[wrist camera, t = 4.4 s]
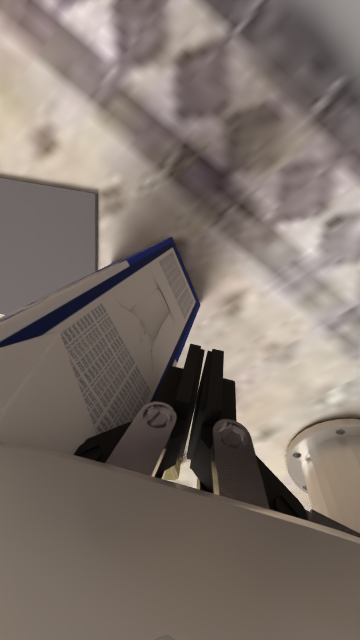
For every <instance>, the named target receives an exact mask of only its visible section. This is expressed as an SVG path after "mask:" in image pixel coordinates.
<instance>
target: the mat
mask: <svg viewBox="0 0 360 640" xmlns="http://www.w3.org/2000/svg"><path fill="white" fill-rule="evenodd" d="M96 271H97V194H95V193H89V192H83V191H77V190H71V189H65V188H59V187H53V186H47V185H41V184H35V183H29V182H24V181H18V180H12V179H6V178H0V314H4V315H7V314H10V313H12V312H14V311H16V310H18V309H20V308H22V307H24V306H26V305H28V304H30V303H32V302H34V301H36V300H38V299H40V298H42V297H45V296H47V295H49V294H51V293H53V292H55V291H57V290H59V289H61V288H63V287H65V286H67V285H69V284H71V283H73V282H75V281H78V280H80V279H82V278H84V277H86V276H88V275H90V274H92V273H94V272H96Z"/></svg>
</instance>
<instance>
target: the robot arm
mask: <svg viewBox="0 0 360 640" xmlns="http://www.w3.org/2000/svg"><path fill="white" fill-rule="evenodd" d="M204 351H205V350H203V349H201V346H198V345H194V344H190V347H189V351H188V354H187V358H186V362H185V365H184V369H182V368H178V367H174V366H169V368H168V370H167V373H166V376H165V378H164V381H163V384H162V387H161V389H160V392H159V395H158V397H157V400H156V402H150V403H148V404H146V405H144V406H143V407H142V408H141V409H140V411H139V412H138V414H137V416H136V417H135V419H134V420H133V421H130V422H128V423H125V424H123V425H120V426H118V427H115V428H113V429H110V430H108V431H105V432H103V433H100V434H98V435H95V436H93V437H90V438H88V439H86V440H85V442H84V443H83V444H81V445H80V446H79V447H78V449H77V450H76V452H75V453H74V455H71V454H67V453H63V452H60V451H56V450H51V449H46V448H41V447H37V446H30V445H21V444H0V640H360V419H336V420H330V421H325V422H322V423H319V424H316V425H314V426H311V427H309V428H307V429H305V430H304V431H303V432H301V433H300V434H298V435H297V436H296V437H295V438H294V439H293V440H292V441H291V443H290V445H289V447H288V448H287V452H286V465H287V469H288V473H289V475H290V477H291V479H292V480H293V482H294V483H295V484H296V485H297V486H298V487H299V488H300V489H301V490H303V491H304V492H306V493H308V495H309V499H310V502H311V506H312V509H311V510H310V512H309V511H307V510H305V509H304V507H303V506H302V504H301V503H300V502H299V500H298V499H297V498H296V497H295V496H294V495H293V494H292V493H291V492H290V491H289V490H288V489H287V487H286V486H285V485H284V484H283V483H282V482H281V481H280V480H279V479H278V478H277V477H276V476H275V475H274V474H273V473H272V472H271V471H270V469H269V468H268V467H267V466H266V465H265V464H264V463H263V462H262V461H261V460H260V459H259V458H258V457H257V456H256V454H255V451H254V447H253V443H252V439H251V436H250V434H249V432H248V430H247V429H246V428H245V427H244V426H243V425H242V424H240V423H238V422H236V396H235V381H233V380H228V379H224V378H223V360H224V351H220V350H216V349H213V350H212V351H208V352H207V356H206V361H205V365H204V369H203V373H202V377H201V381H200V375H201V369H202V363H203V357H204ZM199 381H200V385H199ZM198 387H199V389H198ZM194 408H195V410H194ZM193 413H194V416H193ZM192 417H193V422H192V428H191V434H190V440H189V446H188V452H187V459H190V460H191V464H190V469H192V470H193V472H194V473H195V475H196V476H197V477H198V479H197V489H195V488H192V487H188V486H185V485H181V484H178V483H174V482H170V481H167V480H163V478H164V476H165V472H166V470H167V469H169V468H171V467H172V466H174V465H176V462H177V458H178V456H179V457H183V453H184V449H185V445H186V441H187V437H188V433H189V429H190V425H191V421H192Z"/></svg>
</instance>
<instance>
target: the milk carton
mask: <svg viewBox="0 0 360 640" xmlns="http://www.w3.org/2000/svg"><path fill="white" fill-rule="evenodd" d="M199 307H200V303H199V300H198V298H197V296H196V293H195V291H194V289H193V286H192V284H191V281H190V279H189V277H188V274H187V272H186V270H185V267H184V265H183V262H182V260H181V258H180V255H179V253H178V250H177V248H176V246H175V243H174V241H173V239H172V237H170V238H168V239H166V240H164V241H161V242H159V243H157V244H155V245H153V246H150V247H148V248H146V249H144V250H141V251H139V252H137V253H135V254H133V255H130V256H128V257H126V258H124V259H122V260H119V261H117V262H115V263H113V264H110V265H108V266H106V267H104V268H102V269H100V270H98V271H96V272H94V273H92V274H90V275H88V276H86V277H84V278H82V279H80V280H78V281H75V282H73V283H71V284H69V285H67V286H65V287H63V288H61V289H59V290H57V291H55V292H53V293H51V294H49V295H47V296H45V297H42V298H40V299H38V300H36V301H34V302H32V303H30V304H28V305H26V306H24V307H22V308H20V309H18V310H16V311H14V312H12V313H10V314H7V315H5V316H3V317H1V318H0V444H21V445H30V446H37V447H41V448H46V449H51V450H56V451H60V452H63V453H67V454H71V455H74V453H75V452H76V450H77V449H78V447H79V446H80V445H81V444H83V443H84V442H85V440H86V439H88V438H90V437H93V436H95V435H98V434H100V433H103V432H105V431H108V430H110V429H113V428H115V427H118V426H120V425H123V424H125V423H128V422H130V421H133V420H134V419H135V417H136V416H137V414H138V412H139V411H140V409H141V408H142V407H143V406H144V405H146V404H148V403H150V402H156V400H157V397H158V395H159V392H160V389H161V387H162V384H163V381H164V378H165V376H166V373H167V370H168V368H169V366H174V367H176V365H177V362H178V360H179V357H180V355H181V352H182V350H183V347H184V345H185V342H186V340H187V337H188V335H189V332H190V330H191V327H192V325H193V322H194V320H195V317H196V315H197V312H198V310H199Z"/></svg>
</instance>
